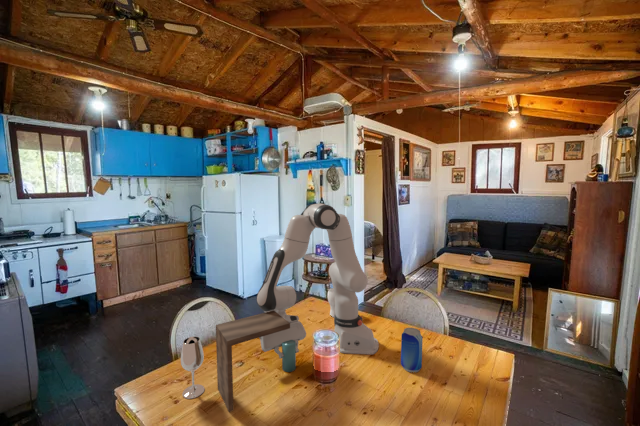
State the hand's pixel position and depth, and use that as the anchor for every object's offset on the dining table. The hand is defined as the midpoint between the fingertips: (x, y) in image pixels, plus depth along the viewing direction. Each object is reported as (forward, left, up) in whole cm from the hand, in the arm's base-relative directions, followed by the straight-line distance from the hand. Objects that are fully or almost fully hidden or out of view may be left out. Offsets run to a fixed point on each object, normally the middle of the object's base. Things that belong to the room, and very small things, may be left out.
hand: (289, 355), depth 123 cm
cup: (-7, -57, -6) cm, 58 cm away
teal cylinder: (0, 0, -6) cm, 6 cm away
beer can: (-49, -15, -6) cm, 52 cm away
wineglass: (+29, +23, -6) cm, 38 cm away
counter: (+9, +15, -6) cm, 18 cm away
